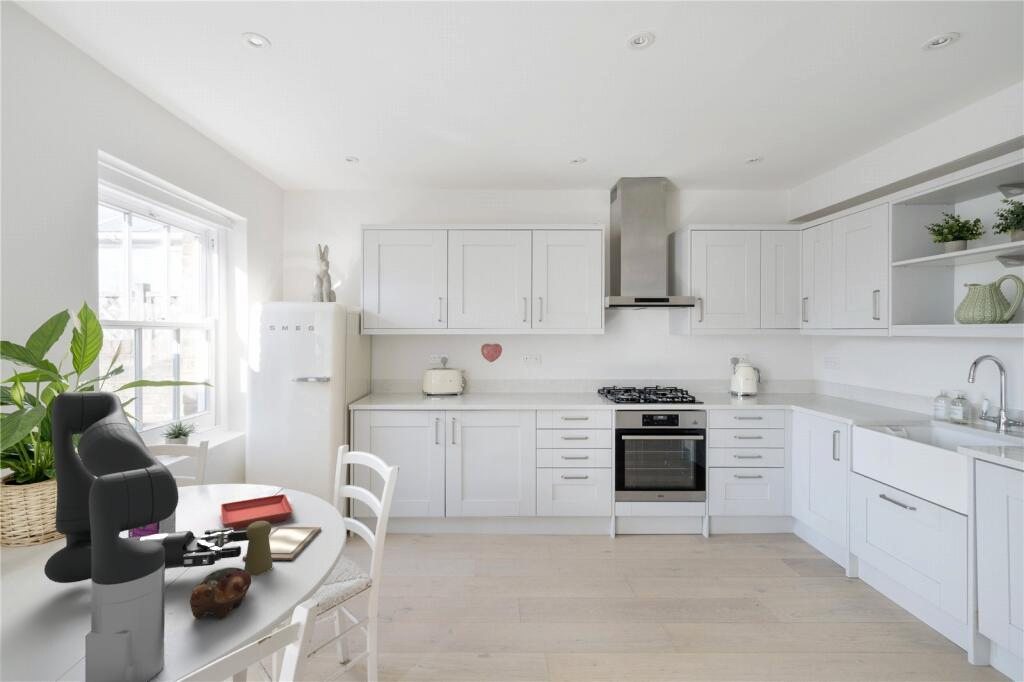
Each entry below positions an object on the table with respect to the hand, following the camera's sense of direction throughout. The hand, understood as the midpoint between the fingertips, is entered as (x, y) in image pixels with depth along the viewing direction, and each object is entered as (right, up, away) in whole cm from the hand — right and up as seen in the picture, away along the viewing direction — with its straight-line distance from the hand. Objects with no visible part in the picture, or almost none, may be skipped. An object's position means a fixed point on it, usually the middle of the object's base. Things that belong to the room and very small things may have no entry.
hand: (245, 542), depth 109 cm
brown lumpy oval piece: (+4, -7, -15) cm, 17 cm away
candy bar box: (-35, -6, +16) cm, 39 cm away
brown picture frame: (+2, -6, +14) cm, 15 cm away
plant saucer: (-15, -6, +32) cm, 35 cm away
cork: (+2, -7, +1) cm, 7 cm away
